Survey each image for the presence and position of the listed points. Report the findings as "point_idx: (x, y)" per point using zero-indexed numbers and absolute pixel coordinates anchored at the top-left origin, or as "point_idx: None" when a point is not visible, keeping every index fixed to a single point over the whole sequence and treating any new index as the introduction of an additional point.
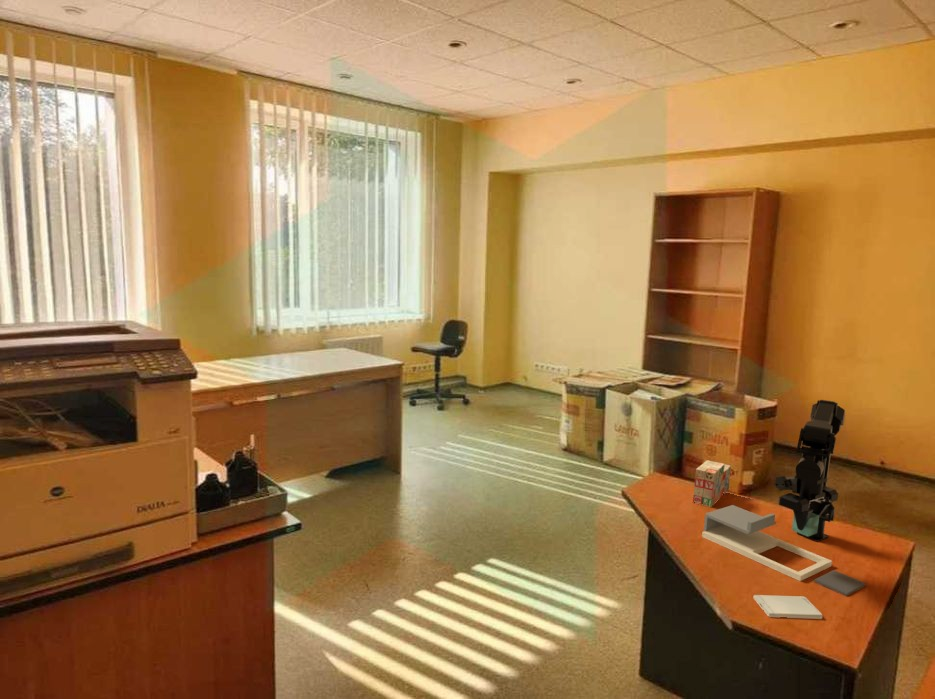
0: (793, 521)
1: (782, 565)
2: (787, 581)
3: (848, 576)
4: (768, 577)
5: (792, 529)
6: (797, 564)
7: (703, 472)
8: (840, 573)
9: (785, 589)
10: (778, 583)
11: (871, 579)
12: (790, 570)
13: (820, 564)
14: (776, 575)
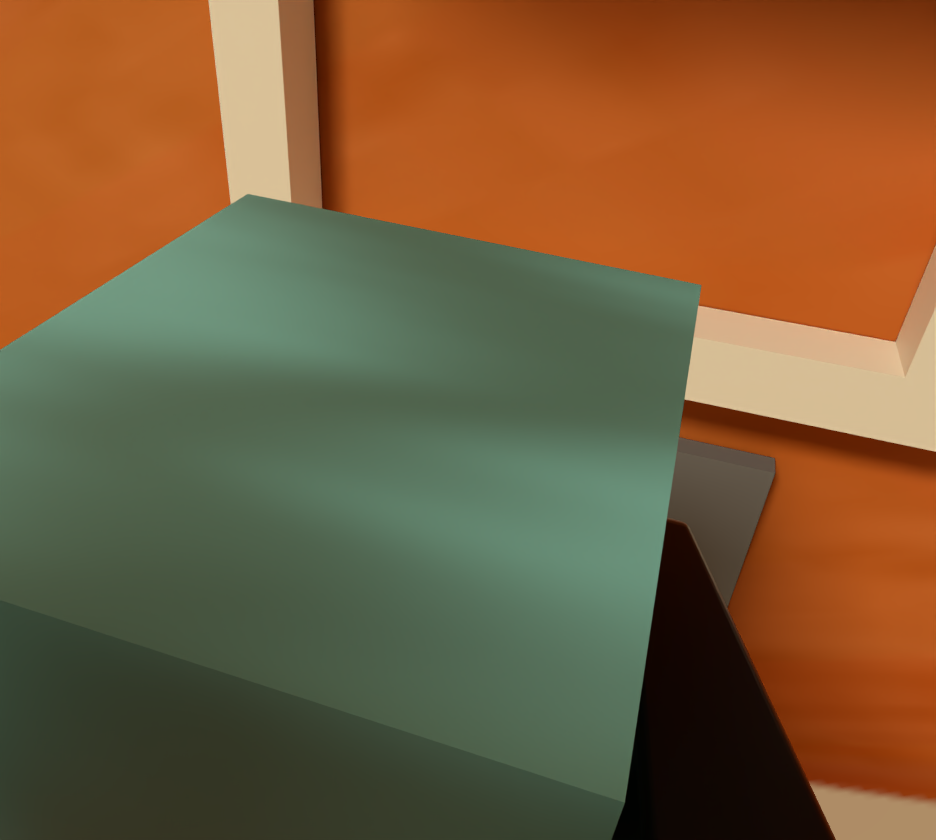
0: (84, 315)
1: (268, 67)
2: (160, 198)
3: (727, 586)
4: (43, 25)
5: (236, 214)
6: (647, 110)
7: None
8: (735, 530)
9: (32, 242)
10: (50, 155)
11: (888, 705)
12: (244, 190)
13: (711, 379)
14: (157, 63)
